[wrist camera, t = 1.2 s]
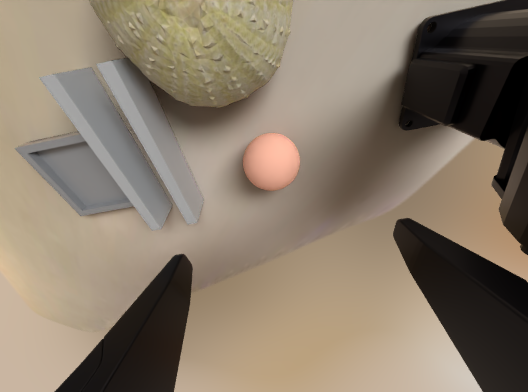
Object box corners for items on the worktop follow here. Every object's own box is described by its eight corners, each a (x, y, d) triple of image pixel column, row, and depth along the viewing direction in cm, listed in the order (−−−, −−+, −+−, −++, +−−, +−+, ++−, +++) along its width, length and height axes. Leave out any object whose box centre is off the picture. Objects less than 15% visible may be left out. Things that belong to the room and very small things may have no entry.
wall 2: (138, 56, 12) (111, 60, 10) (203, 199, 19) (197, 222, 17) (125, 59, 12) (96, 64, 10) (195, 201, 19) (187, 224, 17)
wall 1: (91, 67, 13) (54, 74, 10) (172, 205, 19) (161, 229, 17) (79, 70, 13) (39, 77, 10) (164, 206, 19) (151, 230, 17)
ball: (291, 119, 15) (303, 141, 12) (296, 167, 18) (307, 196, 14) (237, 130, 15) (234, 155, 12) (249, 176, 18) (249, 206, 15)
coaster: (109, 124, 15) (101, 129, 14) (155, 196, 18) (150, 203, 18) (26, 142, 15) (14, 148, 14) (87, 208, 19) (80, 216, 18)
